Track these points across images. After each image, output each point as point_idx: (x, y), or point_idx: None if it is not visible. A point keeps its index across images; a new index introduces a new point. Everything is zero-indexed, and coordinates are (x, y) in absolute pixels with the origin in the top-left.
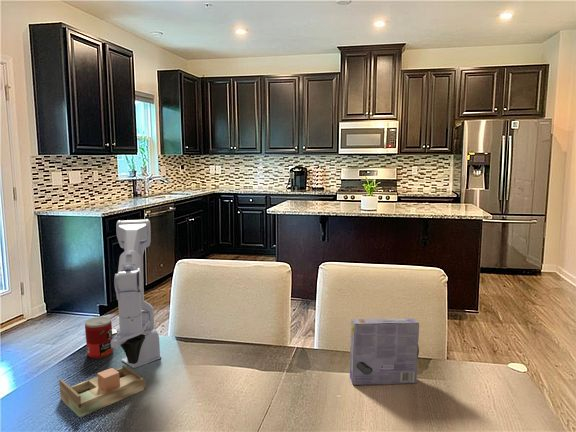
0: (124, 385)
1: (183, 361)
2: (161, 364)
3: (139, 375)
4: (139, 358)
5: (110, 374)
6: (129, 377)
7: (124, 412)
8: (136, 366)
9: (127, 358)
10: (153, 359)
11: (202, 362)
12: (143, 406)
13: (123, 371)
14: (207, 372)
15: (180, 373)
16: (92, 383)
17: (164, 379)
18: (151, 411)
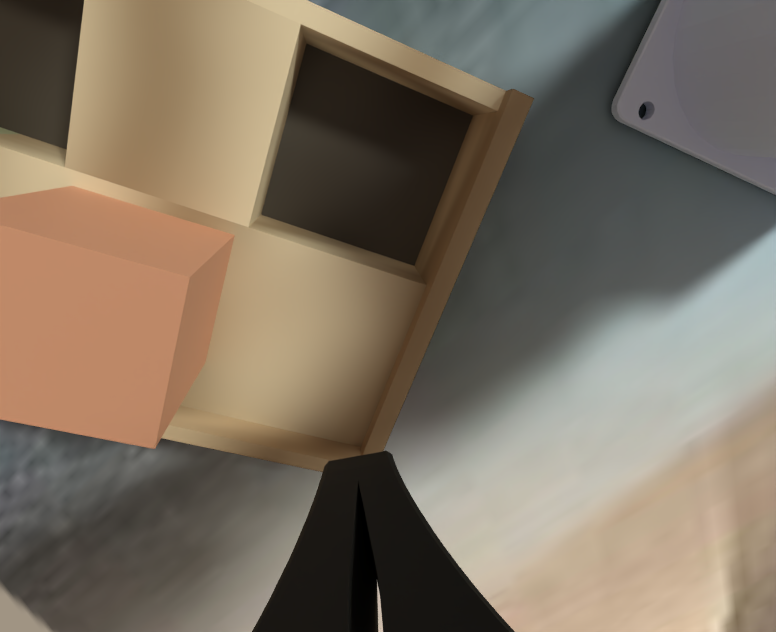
0: (188, 441)
1: (766, 390)
2: (710, 281)
3: (403, 397)
4: (729, 116)
5: (52, 399)
6: (364, 318)
7: (94, 493)
8: (632, 126)
9: (314, 507)
10: (773, 185)
11: (758, 492)
12: (206, 534)
13: (482, 121)
14: (644, 574)
15: (607, 471)
16: (80, 44)
17: (514, 438)
18: (194, 592)
